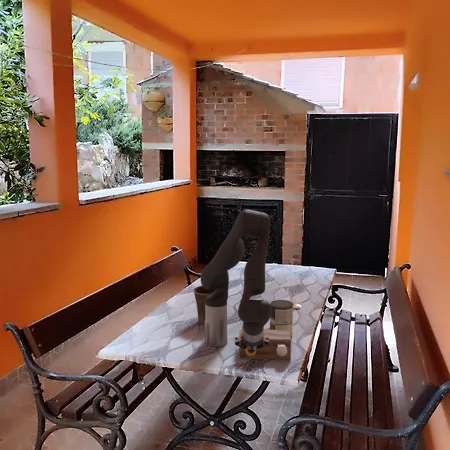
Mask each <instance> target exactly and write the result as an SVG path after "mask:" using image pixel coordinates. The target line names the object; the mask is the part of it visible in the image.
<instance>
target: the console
mask: <svg viewBox="0 0 450 450" xmlns="http://www.w3.org/2000/svg"><path fill="white" fill-rule="evenodd" d="M238 331H239V337H238V338H240V337H241V336H242V329H239V330H238ZM263 337H264V338H269V345H268V346H265V347H263V348H261V349H257V348H256V354H255V355H254V356H248V355H247V354H246V351H245V349H242V348H240V347H238V349H239V359H240V360H242V359H244V360H249V359H250V360H251V359H252V360H256V359H257V360H258V359H259V360H260V359H261V360H264V359H266V360H270V359H273V360H278V359H282V360H285V359H287V360H288V359H290V360H292V359H291V358H292V338H291V337H292V336H290V334H289V331H288V330H270V329H264V335H263ZM277 342H285V346H286V348H287V354H286V355H285V356H279V355H278V354H277V348H276V344H277ZM260 346H261V344H260Z"/></svg>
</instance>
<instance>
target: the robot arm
mask: <svg viewBox="0 0 450 450" xmlns="http://www.w3.org/2000/svg"><path fill="white" fill-rule="evenodd" d="M270 230H271V219H270V216H269V214H268V213H265V212H263V211H258V210H257V211H256V210H252V209H243V210H242V211H240V212H239V214H238V215H237V217H236V219H235V221H234V223H233V226H232V228H231V229H230V232H229V233H228V235H227V237H226V238H225V240H223V242H222V243H221V245H220V247H219V249H218V250H217V251H216V254H215V255H214V257H212V258H211V260H210V261H209V263H208V264H207V265H206V266H205V267H204V268H203V270H202V271H201V274H200V284H201V286H203V287H204V288H205V289H216V290H215V291H214V292H213V293H212V294H210V295H208V296H207V297H206V299H205V325H204V341H205V345H206V346H207V347H215V348H216V347H217V348H218V347H224V346H226V345H228V299H229V285H230V276H229V271H230V270H231V269H233V268H235V267H236V266H237V265H238V264H239V263H240V261H241V260H242V259H243V257H244V255H245V251H246V249H245V245H244V242H243V239H242V237H249V238H254V239H257V246H256V248H255V250H254V251H253V253H252V254H251V256H250V257H249V259H248V260H247V261H246V264H245V265H244V266H245V267H244V271H243V289H242V295H241V298H240V303H239V305H238V310H237V314H238V318H239V319H240V321H242V326H241V327H242V328H241V330H242V336H241V337H240V338H239V337H235V338H234V345H235V346H236V347H238V348H239V347H240V348H242V349H246V348H247V350H248V352H249V353H253V352H255V349H256V348H257V349H261V348H263V347H265V346H268V345H269V338H264V337H263V335H264V330H265V326H266V325H267V324H268V322H270V317H271V313H272V309H271V305H270V302H269V301H268V300H264V299H251V298H252V297H255V296H259V295H262V294H264V293H265V291H266V262H267V261H266V260H267V255H268V254H267V253H268V247H269V240H270V239H269V238H270ZM260 344H261V346H260Z"/></svg>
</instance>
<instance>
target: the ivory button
mask: <svg viewBox="0 0 450 450" xmlns="http://www.w3.org/2000/svg"><path fill="white" fill-rule="evenodd" d="M276 348H277V354H278V355H279V356H285V355H286V354H287V348H286V346H285V342H277V344H276Z"/></svg>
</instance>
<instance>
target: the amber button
mask: <svg viewBox="0 0 450 450" xmlns="http://www.w3.org/2000/svg"><path fill="white" fill-rule="evenodd" d="M245 351H246V354H247V355H248V356H254V355H255V354H256V349H255V352H253V353H249V352H248V350H247V348H246V349H245Z"/></svg>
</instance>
